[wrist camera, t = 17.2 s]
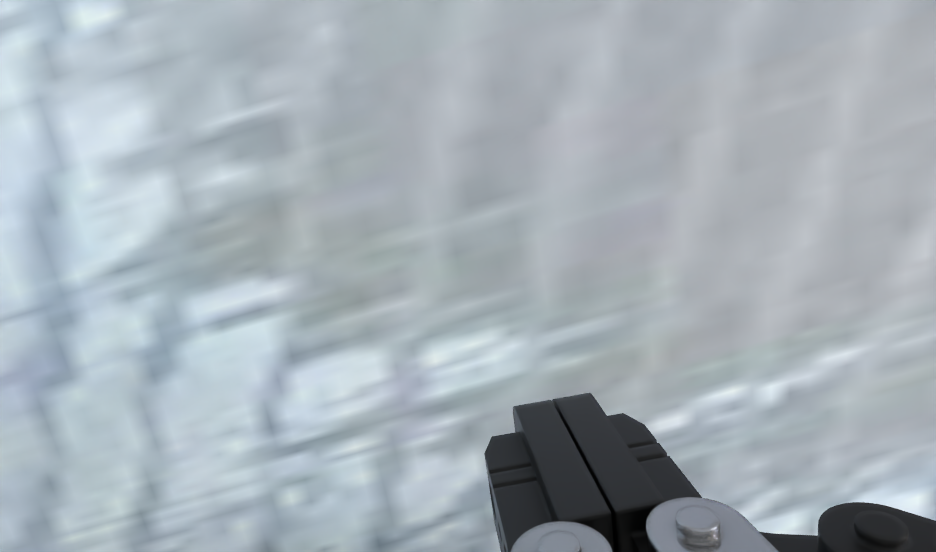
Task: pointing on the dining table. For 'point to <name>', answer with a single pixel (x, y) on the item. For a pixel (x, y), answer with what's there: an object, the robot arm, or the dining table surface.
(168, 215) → the dining table surface
